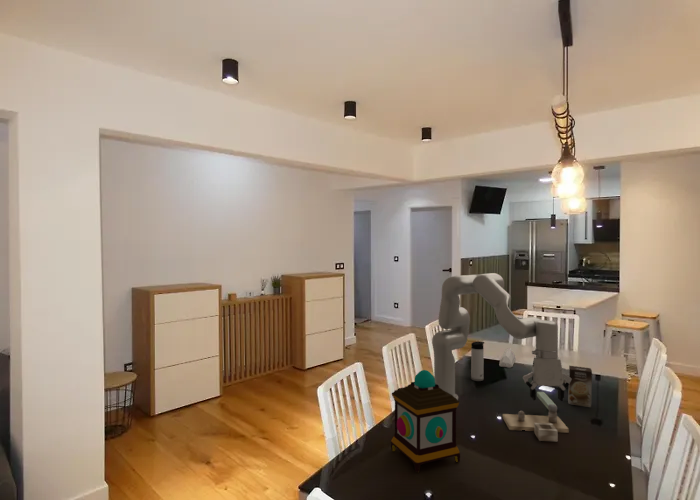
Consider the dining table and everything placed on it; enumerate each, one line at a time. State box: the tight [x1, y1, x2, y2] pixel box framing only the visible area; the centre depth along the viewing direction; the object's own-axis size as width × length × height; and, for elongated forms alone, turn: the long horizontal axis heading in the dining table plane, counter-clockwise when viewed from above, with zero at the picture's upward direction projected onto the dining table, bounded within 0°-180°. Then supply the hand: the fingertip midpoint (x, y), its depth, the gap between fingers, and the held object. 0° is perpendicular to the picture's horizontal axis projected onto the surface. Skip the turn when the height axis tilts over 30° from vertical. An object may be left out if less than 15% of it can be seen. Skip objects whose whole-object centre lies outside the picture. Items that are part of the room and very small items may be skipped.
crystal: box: [498, 347, 516, 369], centre depth 266 cm, size 7×7×24 cm
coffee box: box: [567, 365, 593, 408], centre depth 200 cm, size 9×6×16 cm
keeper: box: [536, 391, 558, 413], centre depth 184 cm, size 3×18×2 cm, turn 173°
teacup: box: [555, 367, 569, 388], centre depth 225 cm, size 15×12×8 cm
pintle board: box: [502, 410, 570, 434], centre depth 178 cm, size 22×12×6 cm, turn 83°
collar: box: [533, 423, 559, 442], centre depth 167 cm, size 6×6×4 cm
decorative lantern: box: [390, 369, 461, 473], centre depth 152 cm, size 20×20×30 cm
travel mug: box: [470, 341, 485, 382], centre depth 235 cm, size 6×7×20 cm
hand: (546, 399), depth 166 cm, fingers open, 9 cm apart
